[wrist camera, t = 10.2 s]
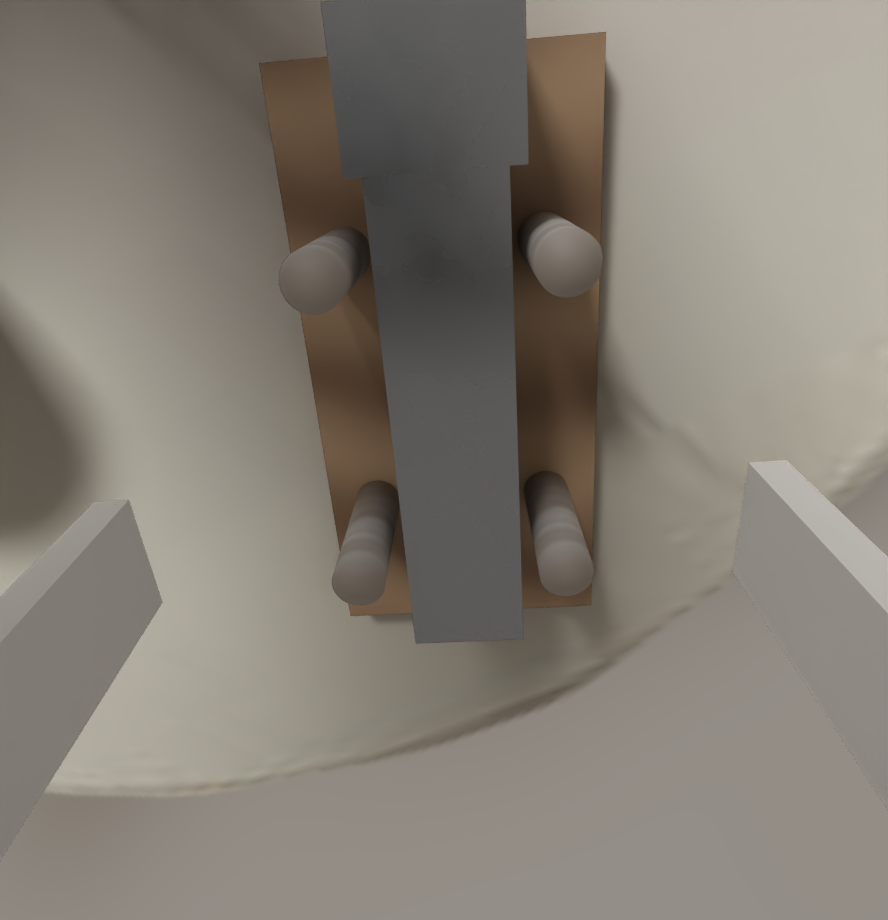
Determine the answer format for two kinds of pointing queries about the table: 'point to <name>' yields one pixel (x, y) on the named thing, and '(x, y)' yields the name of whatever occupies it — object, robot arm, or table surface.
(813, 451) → the table surface
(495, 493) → the grey notched bar
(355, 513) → the rack
